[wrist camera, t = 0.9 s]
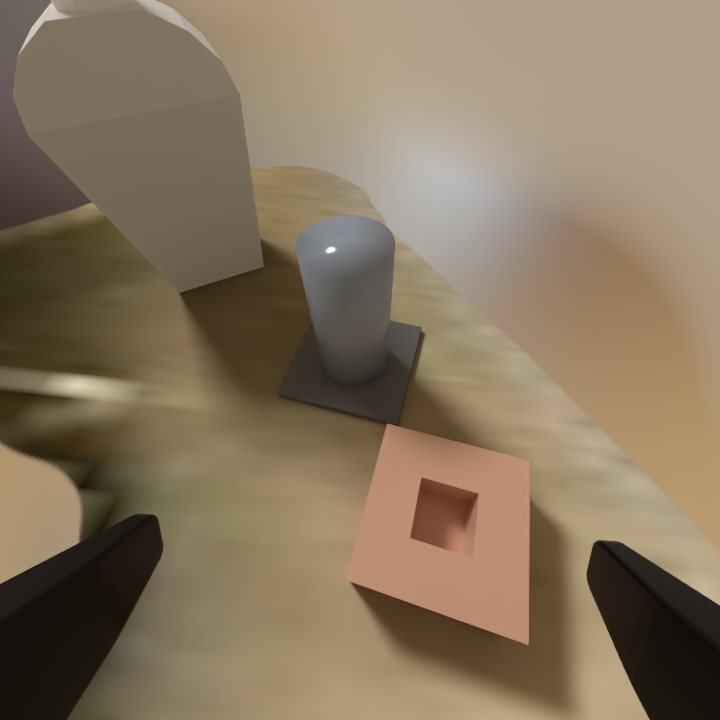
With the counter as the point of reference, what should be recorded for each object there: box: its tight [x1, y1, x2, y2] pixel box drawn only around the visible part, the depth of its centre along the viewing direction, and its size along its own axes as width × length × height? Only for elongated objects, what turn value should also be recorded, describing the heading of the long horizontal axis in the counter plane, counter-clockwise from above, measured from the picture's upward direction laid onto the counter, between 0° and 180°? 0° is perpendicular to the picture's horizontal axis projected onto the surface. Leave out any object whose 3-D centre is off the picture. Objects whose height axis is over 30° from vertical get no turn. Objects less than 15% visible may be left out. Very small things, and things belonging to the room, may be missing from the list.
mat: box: [278, 321, 422, 426], centre depth 26 cm, size 9×9×1 cm
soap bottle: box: [13, 0, 264, 293], centre depth 24 cm, size 12×10×26 cm
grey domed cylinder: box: [296, 215, 395, 387], centre depth 22 cm, size 5×5×10 cm
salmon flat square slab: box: [345, 424, 530, 645], centre depth 18 cm, size 8×8×4 cm
